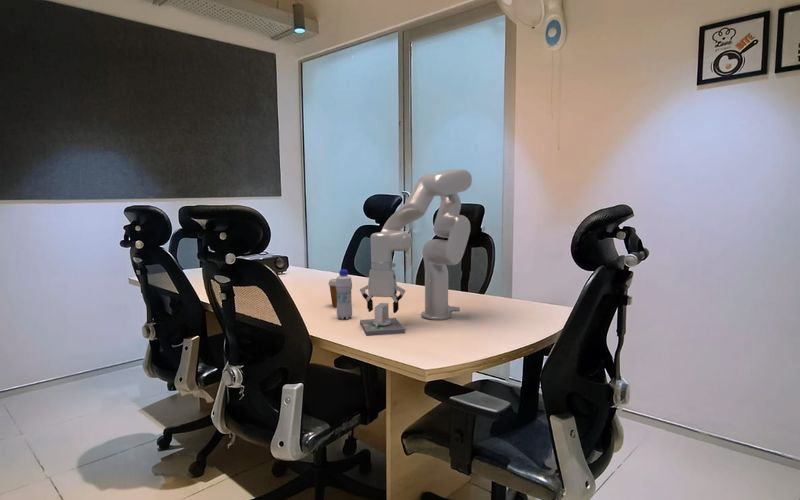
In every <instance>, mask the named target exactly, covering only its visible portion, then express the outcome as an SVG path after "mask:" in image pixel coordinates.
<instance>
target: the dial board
mask: <svg viewBox="0 0 800 500" xmlns="http://www.w3.org/2000/svg"><path fill="white" fill-rule="evenodd" d="M373 320H375V318H367V319H360V320H359V324H360V326H361V328H362V330H363V332H364V334H365V336H381V335H383V336H384V335H395V334H396V335H397V334H406V328H405V327H404V326H403V325H402V323H401V322H400V321H399V320H398V319H397V318H396V317H389V320H391V325H388V326H378V327H376V326H375V325H373V324H372V321H373Z"/></svg>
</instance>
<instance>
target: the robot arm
mask: <svg viewBox="0 0 800 500" xmlns="http://www.w3.org/2000/svg"><path fill="white" fill-rule="evenodd" d="M472 183H473V177H472V175H471V173H470V172H469V170H466V169H448V170H440V171H439V172H437V173H430V174H423V175H422V176H420V177H419V179H418V180H417V182H416V184H415V186H414V188H413V189H412V191H411V193H410V195H409V196H408V198H407V199H406V202H405V203H404V204H403V205H402V206H401V207H400V208H399V209H397V210H396V211H395V212H394V213H393V214H392V215H390V217H389V218H388V219H387V220H386V222H385V223H384V225H383V227H382V229H381V230H380V232H374V233H372V234H371V235H370V259H371V260H370V261H371V264H370V265H371V266H370V267H371V269H369V273H368V281H367V282H368V284H367V285H366V286H363V287H362V288H360V289H359V292H360V293H361V296H362V297H363V298H364V299H365V301H366V308H367V310H368V313H371V312H372V311H373V310H374V303H373V302H374V301H373V299H372V298H391V299H392V300H393V303H392V307H393V308H392V311H393V314H396V313H397V312H398V311H399V301H400V300H401V299H402V298H403V297H404V295H405V294H406V289H404V288H402V287H400V286H398V285H397V276H396V271H395V269H394V268H396V265H397V264H396V263H395V262H393V260H392V258H393V257H392V252H405V251H407V250H409V249H411V247H412V246H413V245H412V244H413V238H412V236H411V234H410V233H408V232H406V231H403V228H404V227H405V226H407V225H408V224H410V223H412V222H414V221H416V220H419V219H421V218H422V217H423V216H424V215H425V214H426V212H427V210H428V208H430V205H431V203H432V201H433V199H434V198H435V197H440V204H439V208H438V210H437V213H436V217H435V220H434V224H433V229H432V230H433V233H434V235H436V236H437V237H440V238H443V239H437V238H436V239H433V238H432V239H429V240H428V241H426V242H425V243H424V244H423V247H422V258H423V259H422V260H423V263H424V311H423V312H421V313H420V317H421V318H423V319H425V320H430V321H431V320H432V321H441V320H442V321H443V320H449V319H451V318H452V317H453V314H452V313H453V312H460V309H461V308H460V306H453V305H452V306H450V305H449V270H448V266H455V265H458V264H459V263H460V262H461V261H462V258H463V256H464V255H465V251H466V249H467V248H466V247H467V245H468V241H469V237H470V234H471V222H470V220H469V219H468V217H466V216H465V215H462V214H460V212H461V207H462V201H461V197H460V196H459V195H460V194H458V193H462V192H465V191H467V190H468V189H470V188H471V186H472ZM401 230H402V231H401ZM444 238H445V239H447V240H445V239H444ZM447 265H448V266H447ZM366 291H367V293H366ZM398 292H399V294H398ZM397 294H398V295H397Z"/></svg>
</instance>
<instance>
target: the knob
mask: <svg viewBox="0 0 800 500" xmlns="http://www.w3.org/2000/svg"><path fill="white" fill-rule="evenodd" d="M373 310H374V313H373V314H374V319H375V320H373V321H372V324H373V325H375V326H376V327H378V326H388V325H391V320H389V318H390V317H389V315H390V314H389V302H380V303H378V304H377V305H376V306H375V307H374V306H373Z"/></svg>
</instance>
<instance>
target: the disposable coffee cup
mask: <svg viewBox="0 0 800 500" xmlns="http://www.w3.org/2000/svg"><path fill="white" fill-rule="evenodd" d="M328 286H329V290H330V291H329V292H330V298H331V305H332V308H334V309H335V308H336V309H337V290H336V278H332V279H329V281H328Z"/></svg>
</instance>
